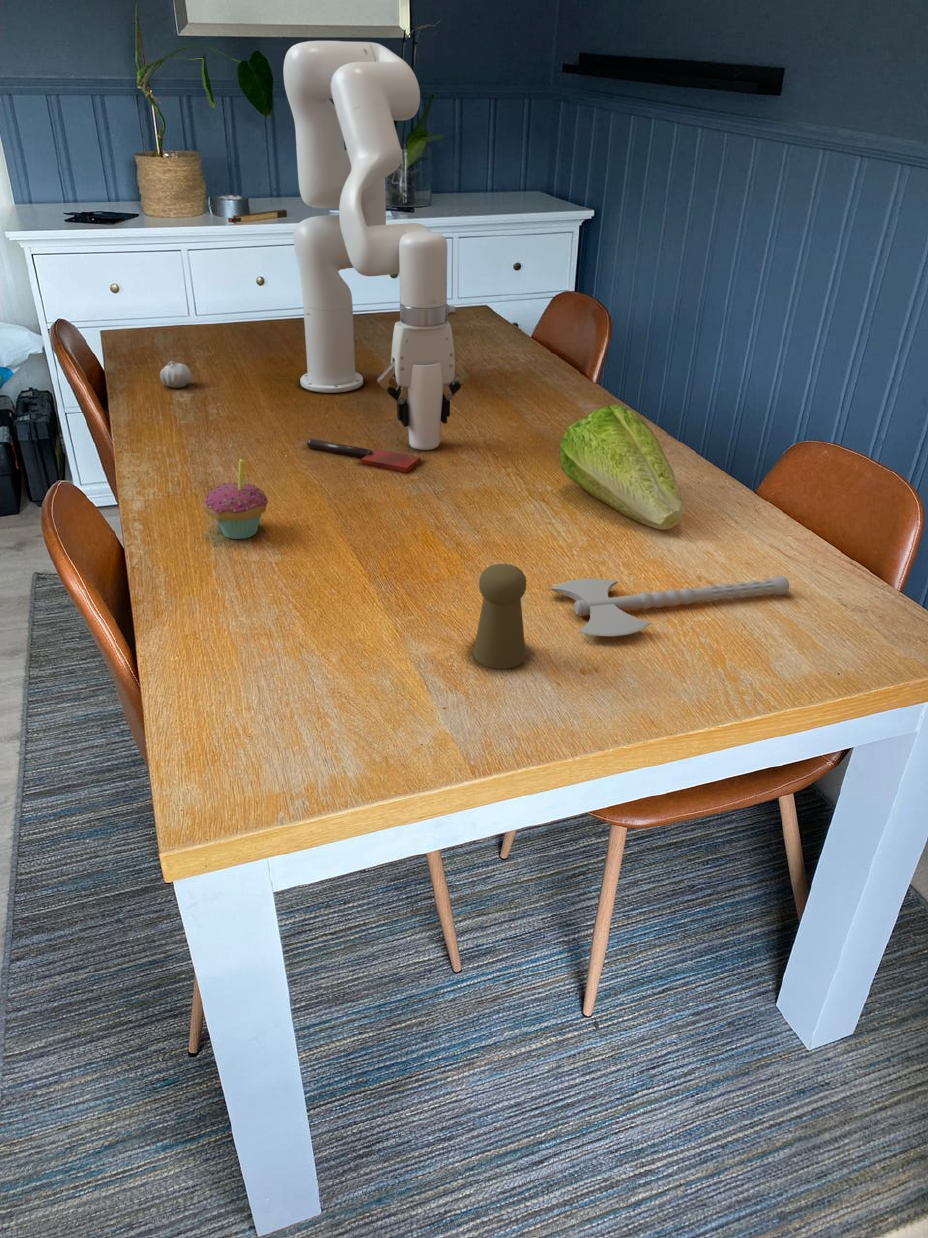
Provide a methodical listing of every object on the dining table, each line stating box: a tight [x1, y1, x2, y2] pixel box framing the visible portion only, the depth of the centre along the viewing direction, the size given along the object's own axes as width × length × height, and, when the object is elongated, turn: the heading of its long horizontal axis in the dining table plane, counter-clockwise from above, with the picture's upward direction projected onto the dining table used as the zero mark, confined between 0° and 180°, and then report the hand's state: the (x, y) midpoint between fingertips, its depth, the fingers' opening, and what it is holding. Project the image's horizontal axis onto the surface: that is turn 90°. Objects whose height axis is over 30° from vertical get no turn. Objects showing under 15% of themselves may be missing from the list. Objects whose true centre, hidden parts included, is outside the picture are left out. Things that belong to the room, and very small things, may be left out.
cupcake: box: [203, 454, 269, 540], centre depth 132 cm, size 9×8×12 cm
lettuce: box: [559, 403, 684, 531], centre depth 142 cm, size 14×23×14 cm
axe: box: [549, 575, 790, 637], centre depth 119 cm, size 30×14×2 cm, turn 104°
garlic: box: [159, 360, 192, 389], centre depth 188 cm, size 6×5×5 cm
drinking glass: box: [406, 363, 443, 451], centre depth 161 cm, size 7×7×15 cm
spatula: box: [306, 438, 422, 474], centre depth 160 cm, size 20×5×2 cm, turn 66°
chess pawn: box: [472, 563, 527, 670], centre depth 107 cm, size 6×6×11 cm
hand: (423, 421), depth 163 cm, fingers closed on drinking glass, 6 cm apart
